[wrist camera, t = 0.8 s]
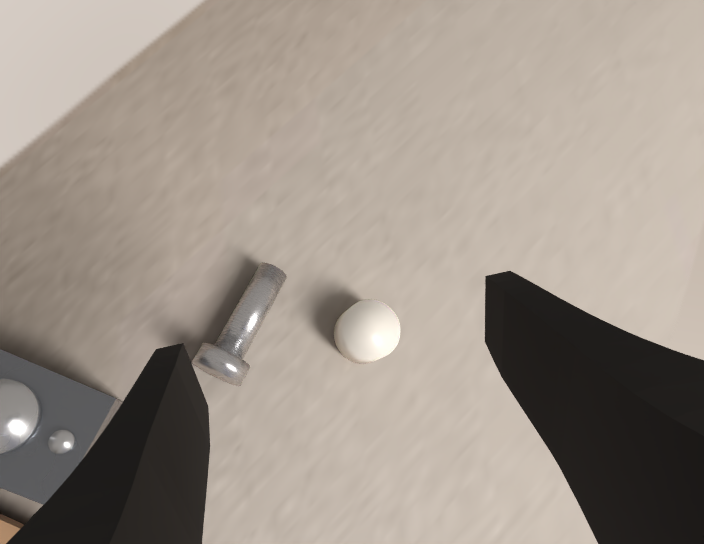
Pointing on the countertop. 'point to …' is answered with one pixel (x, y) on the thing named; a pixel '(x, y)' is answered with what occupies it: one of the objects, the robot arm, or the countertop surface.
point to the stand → (8, 528)
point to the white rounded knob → (367, 331)
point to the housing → (45, 426)
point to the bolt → (241, 327)
